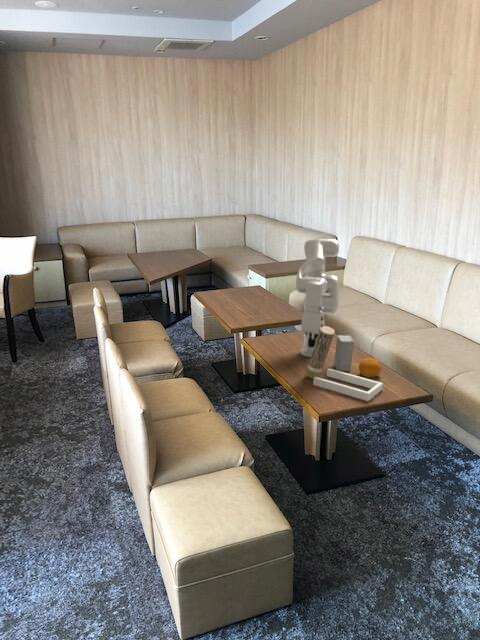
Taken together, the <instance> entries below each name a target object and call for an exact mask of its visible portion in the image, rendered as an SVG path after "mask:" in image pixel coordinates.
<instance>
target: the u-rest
mask: <svg viewBox="0 0 480 640" xmlns="http://www.w3.org/2000/svg"><path fill="white" fill-rule="evenodd" d="M326 377H329V378H332V379H336V380H338V381H343V382H345V383H346V382H347V383H350V384H353V385H357V386H361V387H363V386H364V388H368V389H369V390H368V391H366V390H362V389H359V388H355V387H353V386H349V385H345V384H342V383H338V382H336V381H331V380H328V379H324V378H322V377H319V378H318V377H314V379H313V383H312V385H314V386H316V387H319V388H323V389H327V390H329V391H333V392H336V393H340V394H343V395H346V396H349V397H353V398H356V399H359V400H363V401H366V402H370V401H371V400H372V399H374V398H375V397H376V396H377V395H379V392H380V391H381V390H382V391H383V386H384V383H383V382H380V381H377V380H373V379H369V378H367V377H362V376H358V375H354V374H352V373H347V372H345V371H338V370H337V369H334V368H327V372H326ZM370 388H371V389H370ZM382 391H381V392H382ZM381 392H380V393H381ZM375 395H376V396H375Z"/></svg>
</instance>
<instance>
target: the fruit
mask: <svg viewBox="0 0 480 640" xmlns="http://www.w3.org/2000/svg"><path fill="white" fill-rule="evenodd" d="M358 371H359V373H360V374H361V375H362V376H364V377H365V378H374V377H377V376H379V375H380V374H381V371H382V364H381V363H380V361H379V360H378V359H376V358H373V357H367V358H364V359H362V360H361V361H360V362H359V365H358Z"/></svg>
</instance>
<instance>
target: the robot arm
mask: <svg viewBox="0 0 480 640" xmlns="http://www.w3.org/2000/svg"><path fill="white" fill-rule="evenodd" d="M339 244H340V243H339V241H338V240H337V239H333V238H314V239H308V240H306V241H305V242H304V247H303V248H304V249H303V250H304V255H305V259H306V261H305V262H304V263H303V264H302V265H301V266H300V267H299V268H298V271H297V274H296V280H295V290H296V291H297V292H298V293H299V294H300V293H301V294H305V297H304V299H303V313H302V317H301V324H300V325H301V327H300V329H301V333H303V348H301V349H300V354H301V355H302V356H304V357H307V358H311V355H312V352H313V348H314V345H315V342H316V339H317V336H318V333H319V330H320V328H321V326H326V324H325V315H335V314H337V313H338V311H339V305H340V304H339V302H340V299H339V298H340V280H339V277H338V276H336V275H333V274H326V259H327V258H326V257H330V258H331V257H333V258H334V257H335V258H336V257H337V256H338V254H339V253H340V252H339V251H340V245H339ZM323 294H325V295H323ZM326 294H327V295H326Z"/></svg>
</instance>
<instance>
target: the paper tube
mask: <svg viewBox="0 0 480 640" xmlns="http://www.w3.org/2000/svg"><path fill="white" fill-rule="evenodd" d="M335 332H336V331H335V329H334V328H332V327H330V326H327V325H325V326H321V328H320V330H319V333H318V336H317V339H316V342H315V345H314V348H313V352H312V355H311V357H309V358H310V359H309V362H308V364H307V368H306V371H305V375H306V377H308V378H309V379H313V380H314V377H318V378H321V376H322V375H321V374H322V371H323V368H324V366H325V362H326V360H327V356H328V354H329V351H330V347H331V344H332V342H333V338H334V335H335Z"/></svg>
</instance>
